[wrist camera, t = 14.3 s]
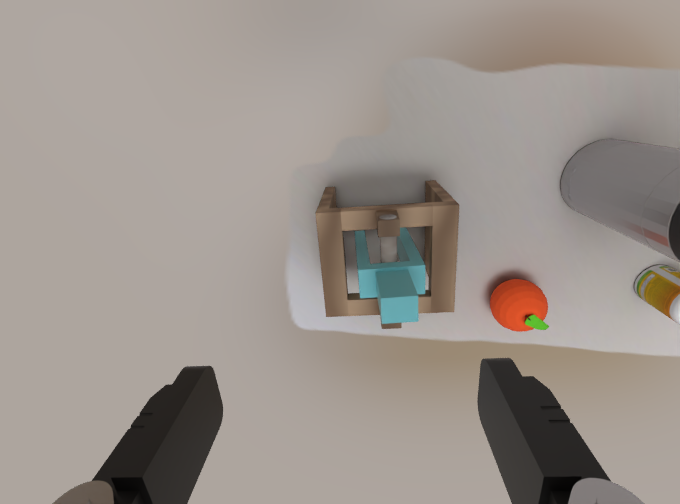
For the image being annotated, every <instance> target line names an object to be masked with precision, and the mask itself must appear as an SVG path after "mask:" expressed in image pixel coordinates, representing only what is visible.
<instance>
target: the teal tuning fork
mask: <svg viewBox="0 0 680 504" xmlns="http://www.w3.org/2000/svg"><path fill="white" fill-rule="evenodd" d="M355 244H356V257H357V268H358V280H359V291H360V298H374V297H377V299H378V305H379V310H380V316H381V322H382V324H387V323H402V322H417V321H418V294H425V264H424V262H423V260H422V258H421V256H420V254H419V252H418V250H417V248H416V246H415V244H414V242H413V240H412V238H411V236H410V234H409V232H408V230H407V228H406V227H404V228H400V236H397V253H398V256H399V259H400V262H389V263H376V264H370V260H369V254H368V248H367V243H366V237H365V231H364V230H363V231H355Z"/></svg>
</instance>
